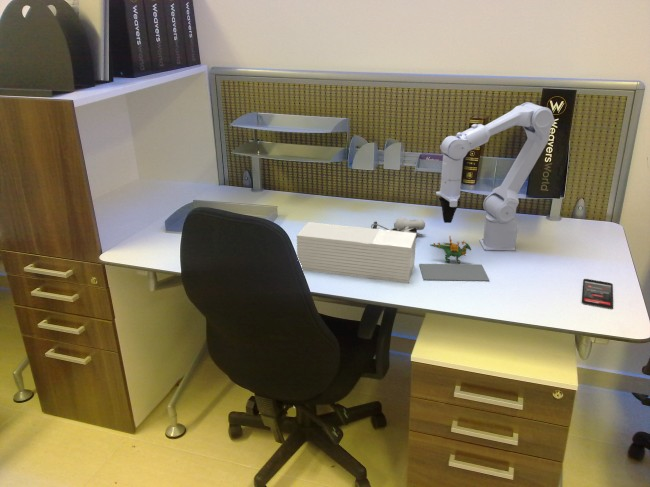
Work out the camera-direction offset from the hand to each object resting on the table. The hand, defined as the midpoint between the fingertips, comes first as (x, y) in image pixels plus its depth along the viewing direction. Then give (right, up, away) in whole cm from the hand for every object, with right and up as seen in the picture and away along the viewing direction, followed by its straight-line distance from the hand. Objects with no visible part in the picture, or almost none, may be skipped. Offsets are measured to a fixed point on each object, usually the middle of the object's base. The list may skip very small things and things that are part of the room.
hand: (447, 221), depth 172 cm
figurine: (0, -12, -4) cm, 12 cm away
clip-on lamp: (-14, -4, +15) cm, 21 cm away
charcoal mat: (-1, -15, -10) cm, 18 cm away
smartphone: (+35, -20, -22) cm, 46 cm away
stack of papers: (-28, -14, -7) cm, 32 cm away
